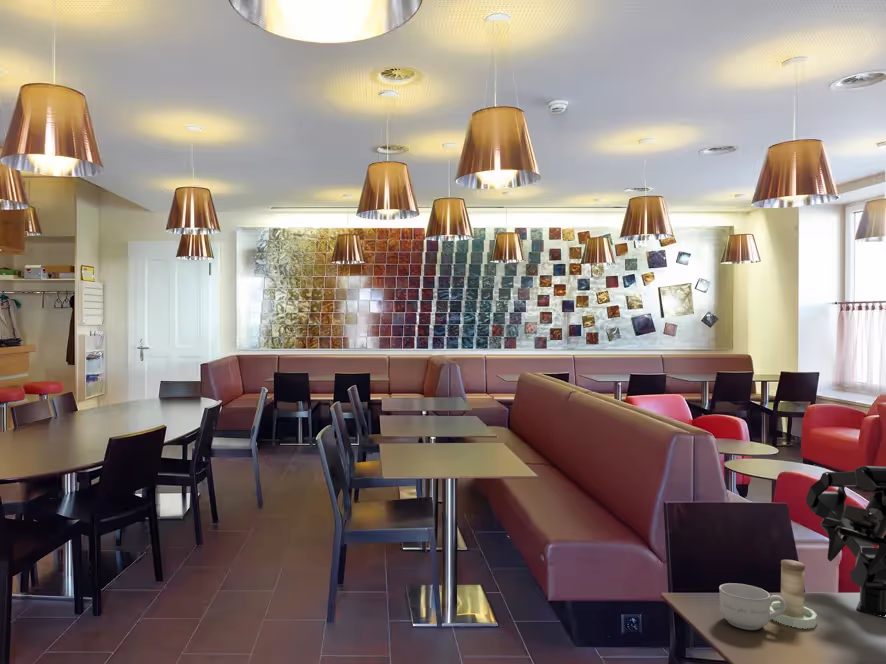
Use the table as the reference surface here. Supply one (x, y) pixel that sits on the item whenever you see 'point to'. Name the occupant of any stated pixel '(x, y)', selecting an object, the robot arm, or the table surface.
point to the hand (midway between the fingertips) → (848, 566)
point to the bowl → (804, 623)
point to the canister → (793, 587)
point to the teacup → (747, 605)
